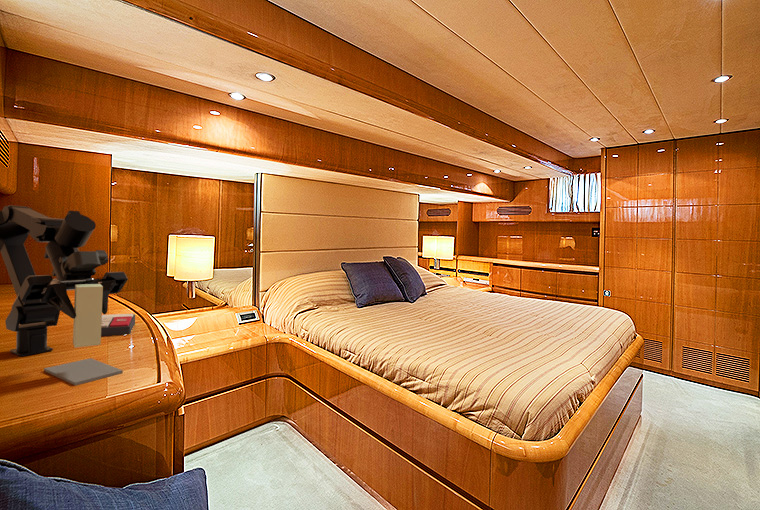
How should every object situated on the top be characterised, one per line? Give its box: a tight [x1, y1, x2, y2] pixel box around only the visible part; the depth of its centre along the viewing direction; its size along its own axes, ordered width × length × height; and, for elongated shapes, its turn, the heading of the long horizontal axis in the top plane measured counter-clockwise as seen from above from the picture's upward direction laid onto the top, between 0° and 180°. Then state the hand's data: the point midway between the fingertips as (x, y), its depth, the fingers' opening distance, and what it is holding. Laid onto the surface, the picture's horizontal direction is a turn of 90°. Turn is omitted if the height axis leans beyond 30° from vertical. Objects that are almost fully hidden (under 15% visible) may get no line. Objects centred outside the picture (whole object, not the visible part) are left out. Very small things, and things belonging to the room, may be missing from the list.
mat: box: [43, 357, 124, 386], centre depth 84 cm, size 14×9×1 cm, turn 62°
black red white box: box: [101, 313, 136, 337], centre depth 119 cm, size 11×4×15 cm
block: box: [72, 284, 103, 348], centre depth 83 cm, size 4×4×13 cm
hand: (90, 315), depth 82 cm, fingers closed on block, 6 cm apart
